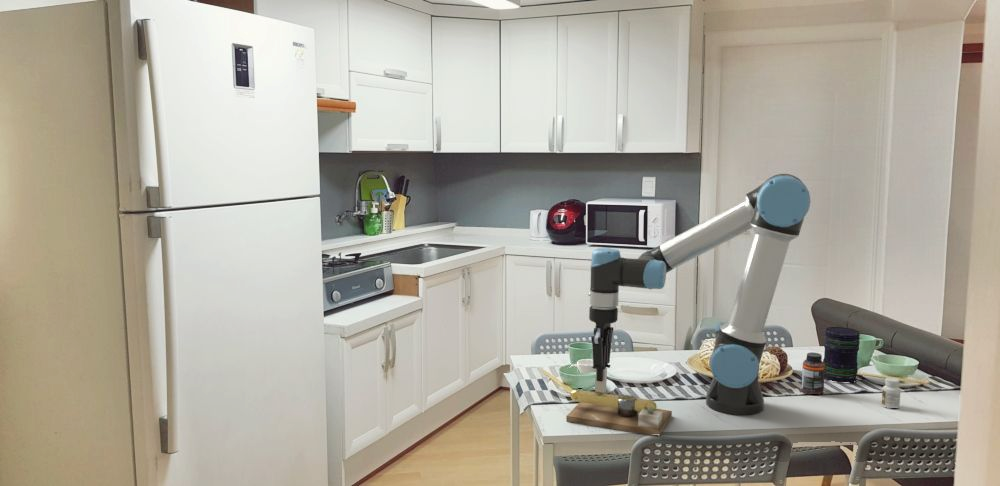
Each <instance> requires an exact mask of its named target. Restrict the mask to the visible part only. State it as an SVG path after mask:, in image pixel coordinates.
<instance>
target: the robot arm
mask: <svg viewBox="0 0 1000 486" xmlns="http://www.w3.org/2000/svg"><path fill="white" fill-rule="evenodd" d="M810 194H811V193H810V192H809V190H808V187H807V186H806V184H805V183H804V182H803V181H802V180H801V179H800V178H799V177H798V176H796V175H795V176H794V175H792V174H789V173H788V174H787V173H780V174H775V175H773V176H771V177H769V178H767V180H765V181H764V182H763V183H762V184H760V185H759V186H758V187H756V188H754V189H753V190H751V191H749V192H748V193H746V194H745V195H744V197H743V199H742V200H741V201H740V202H737V203H735V204H733V205H732V206H730V207H727V208H726V209H724V210H722V211H720V212H718V213H717V214H715V215H713V216H711V217H709V218H708V219H706V220H704V221H702V222H700V223H699V224H697V225H695V226H693V227H691V228H689V229H687V230H686V231H684V232H681V233H680V234H678V235H676V236H674V237H673V238H670V239H669V240H666V241H665V242H663V243H662V244H659V245H657V246H656V247H653V248H652V249H650V250H647V251H645V252H643V253H641V254H640V256H639V257H637V258H628V257H621V251H620V250H619V249H615V248H609V247H608V248H607V247H606V248H605V247H603V248H596V249H594V250H593V251H592V254H591V261H590V288H589V289H590V290H589V292H588V294H587V295H588V296H589V304H590V307H589V311H588V312H589V314H588V315H589V316H588V319H589V320H590V321H591V322H593V323H595V326H594V327H593V335H592V336H591V338H590V339H591V340H590V341H591V345H592V359H593V367H592V368H594V369H596V376H595V391H594V392H597V393H604V394H606V392H607V375H608V369H610V368H611V364H610V362H611V352H612V351H611V350H612V341H613V334H614V330H615V329H614V327H613V326H612V324H614V323H616V322H617V321H618V319H619V318H618V317H619V316H618V313H619V309H618V306H619V289H620V288H619V287H626V288H636V289H637V288H638V289H639V288H640V289H647V290H653V289H654V290H661V289H663V288H664V287H665V284H666V280H667V274H668V273H669V272H671V271H672V270H674V269H676V268H678V267H680V266H682V265H684V264H686V263H687V262H690V261H692V260H693V259H696V258H697V257H700V256H701V255H703V254H706V253H707V252H709V251H710V250H714V248H717V247H719V246H721V245H722V244H724V243H726V242H728V241H730V240H732V239H734V238H736V237H738V236H740V235H742V234H744V233H746V232H748V231H749V230H751V229H753V235H752V239H751V242H750V246H749V250H748V253H747V256H746V259H745V262H744V266H743V270H742V273H741V277H740V280H739V282H738V283H739V284H738V288H737V290H736V294H735V298H734V300H733V304H732V308H731V310H730V314H729V317H728V320H727V321H721V322H718V323H717V324H716V326H715V331H714V333H715V340H714V341H715V342H714V347H713V349H712V353H711V355H710V357H709V368H710V371H711V374H712V376H713V378H712V380H711V382H710V385H709V387H708V390H707V392H706V395H705V396H706V397H705V398H706V399H705V404H706V405H707V406H708V407H709V408H710V409H712V410H715V411H716V412H720V413H724V414H730V415H742V416H744V415H747V416H748V415H756V414H759V413H761V412H762V411H763V410H764V408H765V407H764V406H765V400H764V399H765V398H764V396H763V393H762V389H761V385H760V382H759V374H760V363H761V360H762V356H763V355H764V354H763V353H764V351H765V347H766V343H767V338H766V336H765V335H764V328H765V325H766V322H767V318H768V316H769V311H770V309H771V305H772V302H773V298H774V296H775V292H776V290H777V285H778V282H779V279H780V275H781V272H782V269H783V266H784V263H785V259H786V256H787V252H788V249H789V247H790V243H791V242H792V241H793V240H794V239H795V240H796V238H798V237H799V236H800V233H801V230H802V226H803V224H804V220H805V217H807V214H808V212H809V210H810V207H811V196H810Z"/></svg>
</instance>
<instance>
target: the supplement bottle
mask: <svg viewBox="0 0 1000 486" xmlns="http://www.w3.org/2000/svg"><path fill="white" fill-rule="evenodd" d="M822 357H823V355H822V354H821V353H818V352H807V353H806V359H804V360H803V361H802V370H801V371H802V373H801V375H802V376H801V391H802V392H803V393H804V392H806V393H805V394H807V393H812V394H819V395H821V394H820V393H822V394H823V393H824V392H825V391H824V390H825V379H824V374H825V364H824V362H823V358H822Z"/></svg>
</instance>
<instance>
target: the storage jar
mask: <svg viewBox="0 0 1000 486" xmlns="http://www.w3.org/2000/svg"><path fill="white" fill-rule="evenodd" d="M824 330H825V331H824V337H823V347H824V355H823V356H824V357H823V358H822V362H824V364H825V374H824V378H825V379H827V380H832V381H837V382H854V381H856V380H858V378H857V376H858V371H859V369H858V365H859V363H858V354H859V353H858V352H859V350H860V343H861V342H860V339H861V338H860V335H861V333H860V331H859V330H857V329H855V328H850V327H844V326H843V327H842V326H829V327H825V329H824ZM825 379H824V380H825ZM827 380H826V381H827ZM856 382H857V381H856Z"/></svg>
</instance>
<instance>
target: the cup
mask: <svg viewBox="0 0 1000 486" xmlns="http://www.w3.org/2000/svg"><path fill="white" fill-rule="evenodd" d="M588 365H590V366H588ZM569 366H570V365H569ZM569 366H568V367H569ZM572 367H575V368H577V370H578V369H579V371H580V373H590V372H596V369H594V368H592V367H593V358H584V359H579V360H578V361H576V364H571V366H570V367H569V368H570V369H571V368H572ZM594 390H595V389H594Z"/></svg>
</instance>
